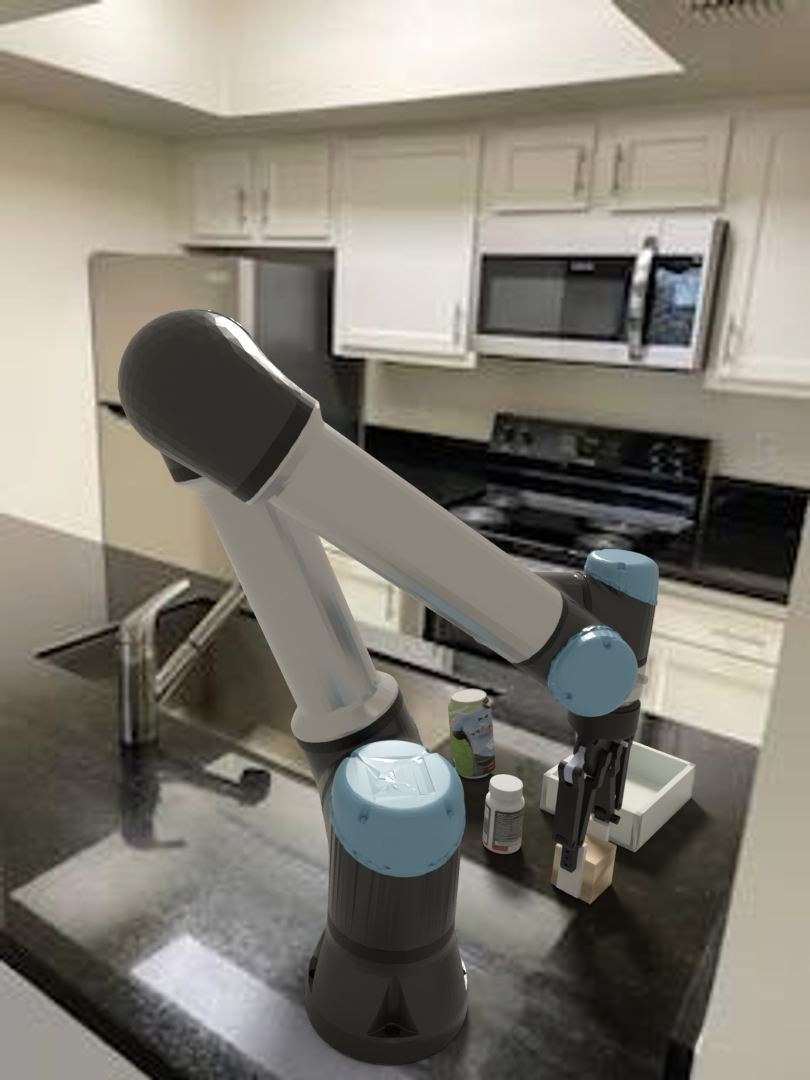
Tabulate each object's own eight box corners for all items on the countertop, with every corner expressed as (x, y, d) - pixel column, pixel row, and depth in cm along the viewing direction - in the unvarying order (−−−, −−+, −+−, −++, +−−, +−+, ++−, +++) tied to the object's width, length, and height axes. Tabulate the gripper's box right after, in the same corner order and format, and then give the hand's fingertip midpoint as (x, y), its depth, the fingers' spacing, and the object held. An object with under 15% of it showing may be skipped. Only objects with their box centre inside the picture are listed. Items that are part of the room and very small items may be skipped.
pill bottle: (528, 844, 103) (534, 783, 101) (505, 860, 100) (511, 797, 98) (497, 827, 106) (503, 768, 104) (474, 842, 103) (479, 781, 101)
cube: (590, 904, 93) (595, 864, 92) (551, 883, 96) (555, 845, 95) (611, 883, 97) (616, 845, 95) (572, 864, 100) (577, 827, 99)
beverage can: (492, 787, 116) (499, 707, 113) (439, 779, 117) (445, 699, 114) (496, 765, 122) (503, 688, 119) (446, 757, 123) (452, 681, 120)
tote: (635, 852, 103) (640, 816, 102) (539, 808, 111) (543, 774, 110) (691, 797, 116) (696, 764, 115) (602, 761, 124) (606, 730, 123)
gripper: (598, 731, 82) (570, 935, 87) (672, 681, 95) (644, 861, 101) (532, 705, 86) (509, 900, 92) (612, 661, 99) (588, 834, 105)
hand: (580, 879), depth 96 cm, fingers closed on cube, 5 cm apart
